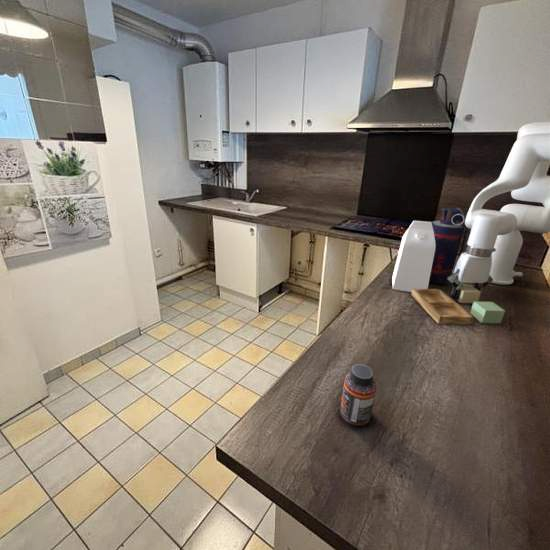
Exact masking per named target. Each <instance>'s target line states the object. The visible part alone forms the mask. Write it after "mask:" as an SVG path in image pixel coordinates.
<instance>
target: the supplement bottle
mask: <svg viewBox="0 0 550 550" xmlns="http://www.w3.org/2000/svg"><path fill="white" fill-rule="evenodd" d="M374 374H375V373H374V370H373V369H372V367H370V366H369V365H366V364H363V363H356V364H354V365H352V367H351V369H350V372H348V373H347V374H346V375H345V377H344V380H343V381H344V382H343V388H342V395H341V400H340V409H339V410H340V415H341V417H342V418H343V420H344V421H345V422H346V423H348V424H350V425H352V426H355V427H361V426H365V425H366V424H368V423H369V422H370V420H371V417H372V411H373V408H374V403H375V399H376V393H377V382H376V379H375V378H374Z"/></svg>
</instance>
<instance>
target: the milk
mask: <svg viewBox="0 0 550 550" xmlns="http://www.w3.org/2000/svg"><path fill="white" fill-rule="evenodd" d="M431 222H432V221H425V220H424V221H423V220H413V221H412V222H411V224H410V225H409V227H408V228H407V229H406V230H405V232H404V233H403V235H402V237H401V242H400V244H399V249H398V253H397V257H396V261H395V265H394V269H393V272H392V277H391V283H392V290H395V291H400V292H401V291H402V292H409V293H412V289H429V285H430V284H429V283H430V282H429V279H430V274H431V269H432V263H433V258H434V253H435V246H436V245H435V237H434V231H433V227H432V223H431Z"/></svg>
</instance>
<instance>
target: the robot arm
mask: <svg viewBox="0 0 550 550" xmlns="http://www.w3.org/2000/svg"><path fill="white" fill-rule="evenodd" d="M549 168H550V121H536V122H529V123H526V124H524V125H522V126H520V127H519V129H518V131H517V135H516V141H515V142H514V143H513V145H512V147H511V150H510V152H509V154H508V157H507V159H506V161H505V164H504V166H503V168H502V170H501V172H500V174H499V176H498V177H497V179H496V180H495V181H494V182H492V183H490V184H488V185H487V186H486V187H484V188H483V189H482V190H480V191H479V192H478V194H477V195H476V196H475V197H474V199H473V200H472V201H471V204H470V206H469V209H468V211H467V213H466V215H465V225H466V227H467V228H468V229H469V230H470V231H469V235H468V238H467V242H466V246H465V249H464V253H462V254H461V256H460V257H459V256H458V258H459V259H457V262H456V263H455V265H454V268H453V271H452V274H451V276H449V277H448V278H447V279H448V280H449V282H448V283H450V284H451V286H452V287H453V288H454V289H453V288H452V291H453V292H452V291H451V298H452V299H454V300H455V301H457V300H458V299H459V296H460V293H461V290H460V288H461V287H462V286H463V285H465V284H474V286H473V285H472V286H473V287H475V288H476V289H477V290H479V291H480V292H482V291H483V290H484V288H485V287H486V286H488V284H490V283H492V284H496V285H506V286H508V285H512V284H514V281H515V280H514V278H515V277H518V278H520V277H523V275H524V274H523V272H522V271H515V270H514V268H515V265H516V262H517V260H518V257H519V254H520V252H521V249H522V246H523V242H524V239H523V235H522V234H521V231H523V232H524V231H525V232H531V233H535V234H548V233H550V175H548V171H549ZM508 192H510V196H511V198H512V199H514V200H516V201H523V202H531V203H541V204H544V206H538V205H531V204H521V203H509V204H506V205H503V206H502V207H501V208H500V210H495V209H494V210H493V209H486V208H483V206H484V205H485V204H486V202H487V201H488V200H490V199H491V198H494V197H496V196H498V195H501V194H505V193H508ZM465 225H464V226H465ZM455 279H456V280H455Z"/></svg>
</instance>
